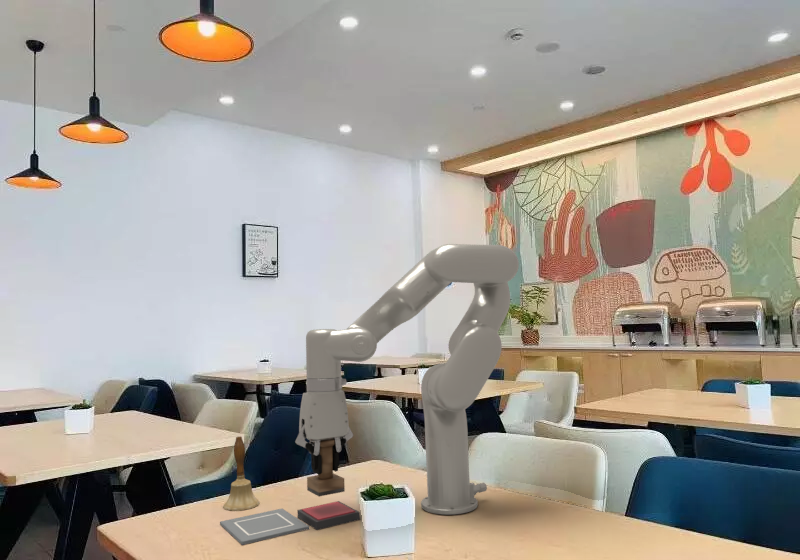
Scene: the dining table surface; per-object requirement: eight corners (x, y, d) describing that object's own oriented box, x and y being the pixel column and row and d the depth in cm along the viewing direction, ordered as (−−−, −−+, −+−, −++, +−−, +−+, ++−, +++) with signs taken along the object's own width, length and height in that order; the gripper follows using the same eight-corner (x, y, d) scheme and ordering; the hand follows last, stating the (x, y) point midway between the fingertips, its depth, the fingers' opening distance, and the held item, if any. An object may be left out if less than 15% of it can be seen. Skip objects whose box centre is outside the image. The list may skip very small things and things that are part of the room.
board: (282, 511, 136) (282, 508, 136) (309, 529, 123) (309, 525, 123) (220, 524, 128) (219, 521, 128) (242, 545, 116) (241, 541, 116)
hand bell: (238, 513, 136) (236, 441, 137) (215, 507, 141) (214, 438, 142) (267, 503, 142) (265, 435, 143) (244, 498, 147) (243, 432, 148)
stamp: (332, 485, 134) (331, 436, 135) (344, 491, 129) (343, 440, 129) (307, 490, 131) (306, 439, 131) (318, 496, 126) (318, 444, 126)
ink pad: (338, 508, 136) (338, 500, 136) (359, 519, 128) (359, 511, 128) (297, 517, 131) (297, 509, 131) (316, 530, 122) (316, 521, 123)
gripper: (349, 381, 139) (351, 462, 137) (281, 387, 130) (283, 474, 129) (365, 384, 132) (367, 469, 131) (295, 390, 124) (296, 481, 122)
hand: (325, 470), depth 130 cm, fingers closed on stamp, 3 cm apart
